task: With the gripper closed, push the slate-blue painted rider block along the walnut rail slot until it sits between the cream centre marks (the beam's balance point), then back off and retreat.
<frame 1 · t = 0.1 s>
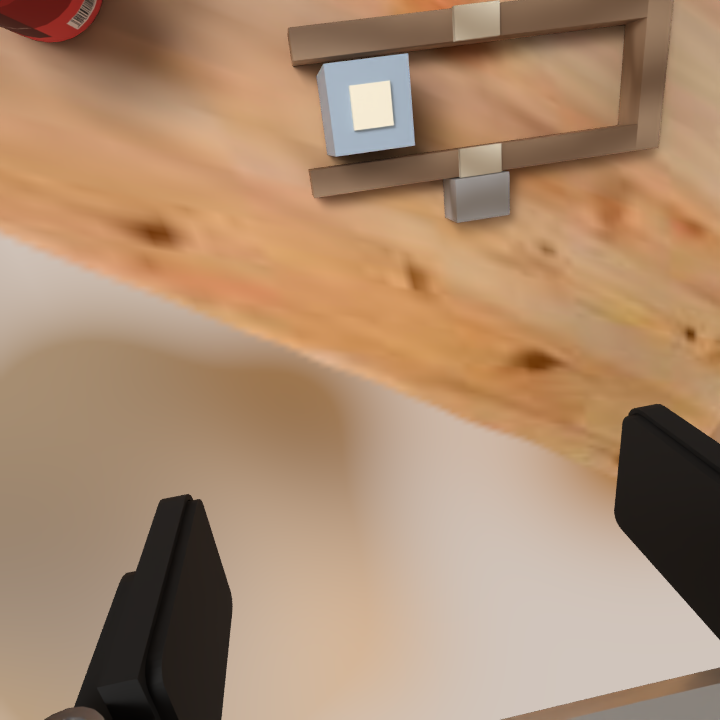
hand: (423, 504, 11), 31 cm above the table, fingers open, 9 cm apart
beam slot: (465, 97, 37), on the table
rider: (363, 109, 33), point 3 cm above the table, slide at -8.0 cm
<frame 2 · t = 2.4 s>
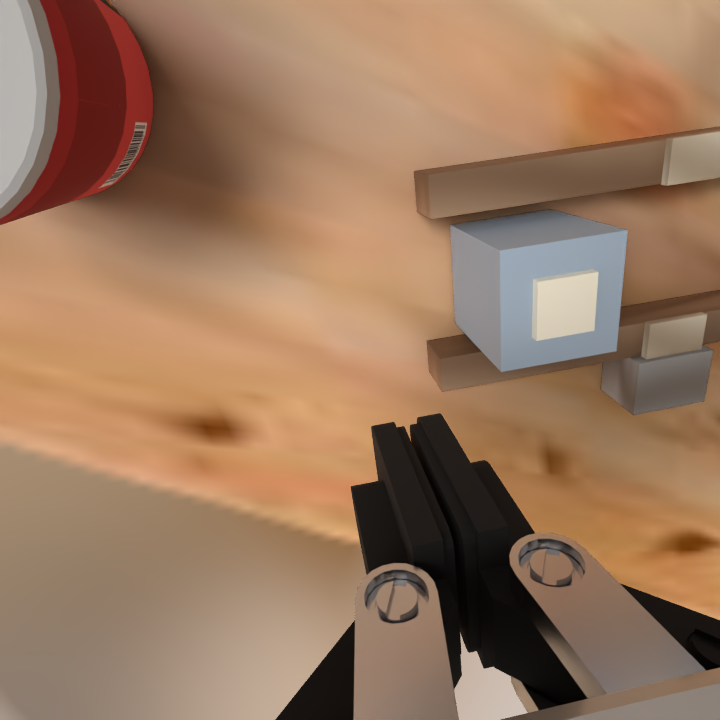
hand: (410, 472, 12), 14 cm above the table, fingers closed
beam slot: (648, 242, 26), on the table
rider: (529, 285, 23), point 3 cm above the table, slide at -8.0 cm
canned food: (58, 90, 20), on the table
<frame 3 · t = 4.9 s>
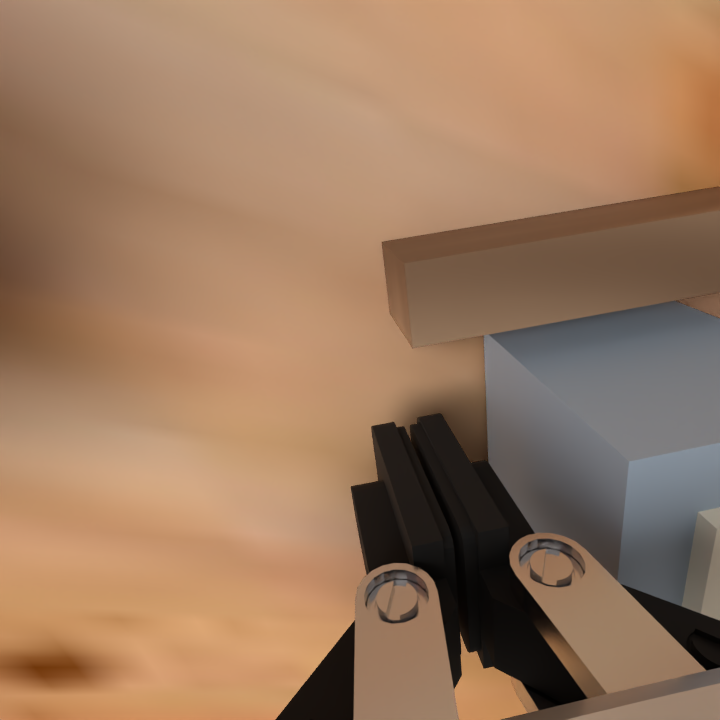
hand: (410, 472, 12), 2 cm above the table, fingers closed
rider: (646, 461, 11), point 3 cm above the table, slide at -7.2 cm, touching gripper
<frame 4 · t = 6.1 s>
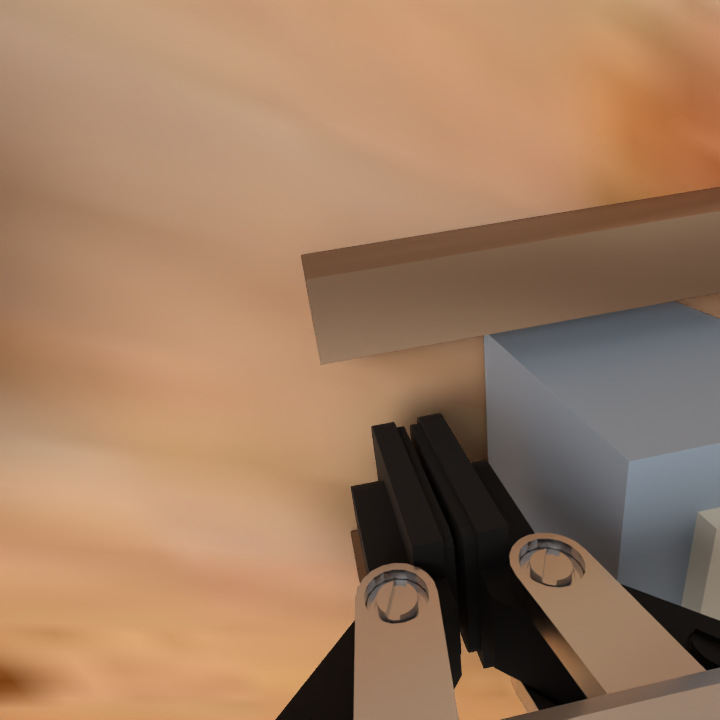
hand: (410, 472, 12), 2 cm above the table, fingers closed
rider: (646, 461, 11), point 3 cm above the table, slide at -5.2 cm, touching gripper
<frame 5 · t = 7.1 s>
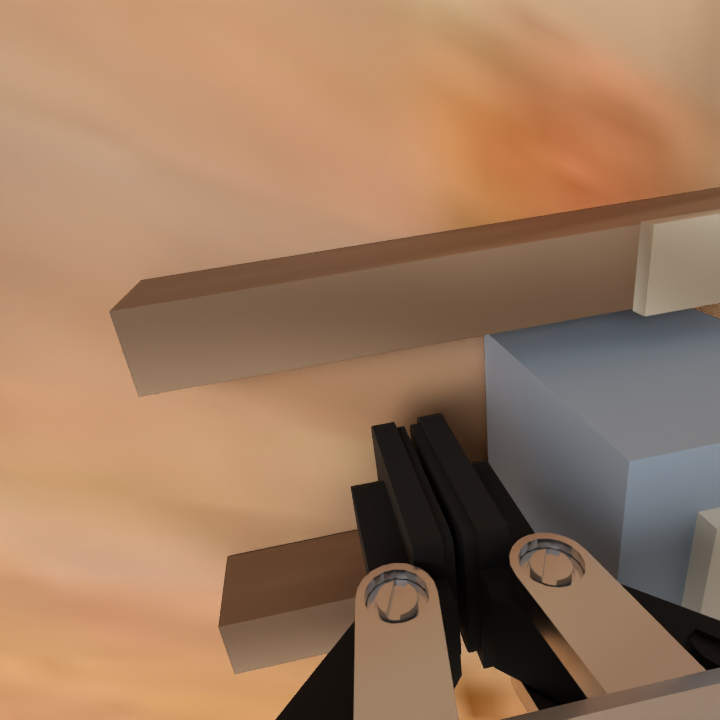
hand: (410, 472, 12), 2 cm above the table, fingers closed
beam slot: (619, 384, 15), on the table
rider: (646, 461, 11), point 3 cm above the table, slide at -1.5 cm, touching gripper
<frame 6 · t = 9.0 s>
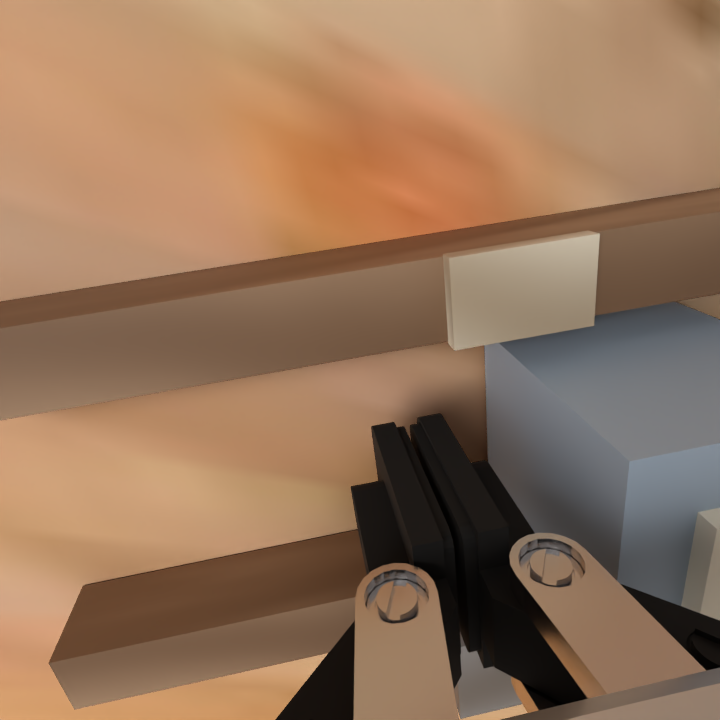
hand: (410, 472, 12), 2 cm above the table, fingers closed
beam slot: (480, 410, 14), on the table
rider: (646, 461, 11), point 3 cm above the table, slide at 2.6 cm, touching gripper
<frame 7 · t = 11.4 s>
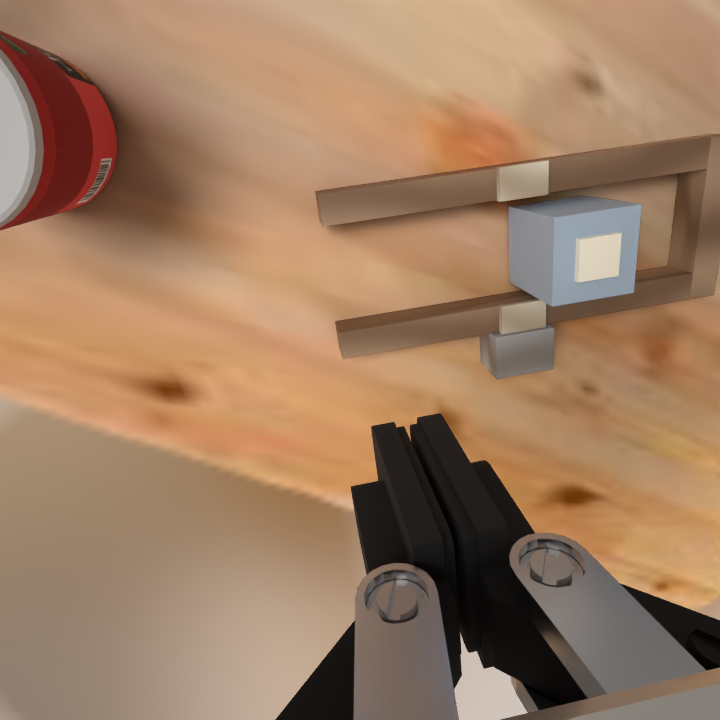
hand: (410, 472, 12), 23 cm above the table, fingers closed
beam slot: (505, 245, 34), on the table
rider: (569, 248, 31), point 3 cm above the table, slide at 2.6 cm
canned food: (49, 134, 28), on the table
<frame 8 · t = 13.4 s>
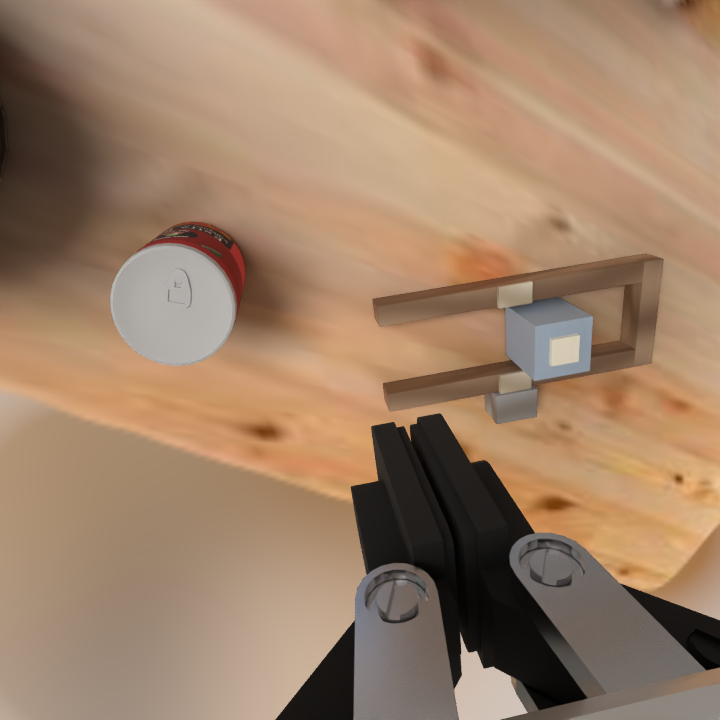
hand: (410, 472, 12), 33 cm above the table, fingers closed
beam slot: (503, 330, 48), on the table
rider: (547, 337, 45), point 3 cm above the table, slide at 2.6 cm
canned food: (199, 269, 42), on the table
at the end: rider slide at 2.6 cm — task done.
